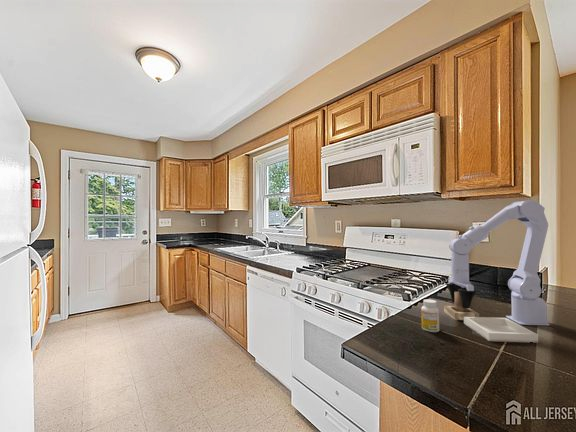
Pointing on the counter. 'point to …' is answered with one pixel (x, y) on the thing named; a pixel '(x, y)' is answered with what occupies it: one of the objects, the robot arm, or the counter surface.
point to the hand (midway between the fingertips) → (460, 304)
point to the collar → (459, 313)
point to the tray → (500, 329)
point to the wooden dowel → (458, 303)
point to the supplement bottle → (430, 316)
